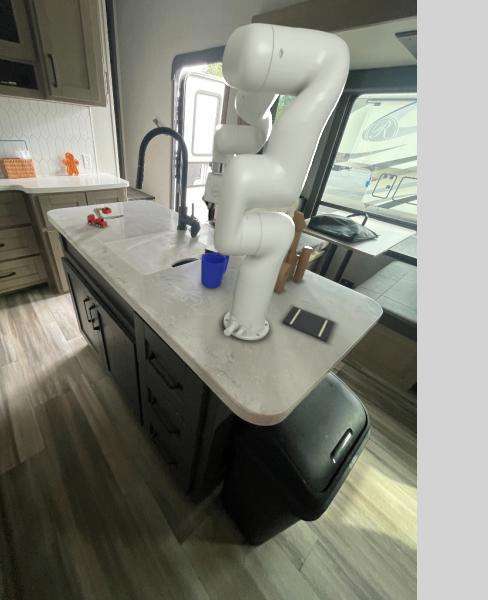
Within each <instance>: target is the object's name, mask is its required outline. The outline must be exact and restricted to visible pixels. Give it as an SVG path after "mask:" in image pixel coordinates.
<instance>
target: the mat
mask: <svg viewBox="0 0 488 600" xmlns="http://www.w3.org/2000/svg"><path fill="white" fill-rule="evenodd" d="M282 324H283V325H286V326H289V327H290V328H293V329H294V330H298V331H300V332H302V333H305V334H307V335H309V336H312V337H314V338H316V339H318V340H320V341H323V342H327V340H328V338H329V336H330V334H331V331H332V329H333V326H334V324H335V321H333V320H330V319H327V318H324V317H322V316H319V315H317V314H314V313H312V312H309V311H307V310H305V309H302V308H300V307H297V306H293V308H292V309H291V310H290V312H289V313H288V314H287V316H286V318H285V319H284V320H283V322H282Z"/></svg>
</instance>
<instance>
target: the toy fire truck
mask: <svg viewBox="0 0 488 600" xmlns="http://www.w3.org/2000/svg"><path fill="white" fill-rule="evenodd" d="M101 212H102V214H104V215H109V214H112V209H111V208H110V207H108V206H104V207H96V208H94V209H93V213H91V214H88V215H86V220H87V224H89V225H90V226H91V225H93V226H96V227H99V228H105V227H106V226H107V227H108V222H107V221H106V220H105V217H104V216H102V214H101ZM96 216H97V218H96Z"/></svg>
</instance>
